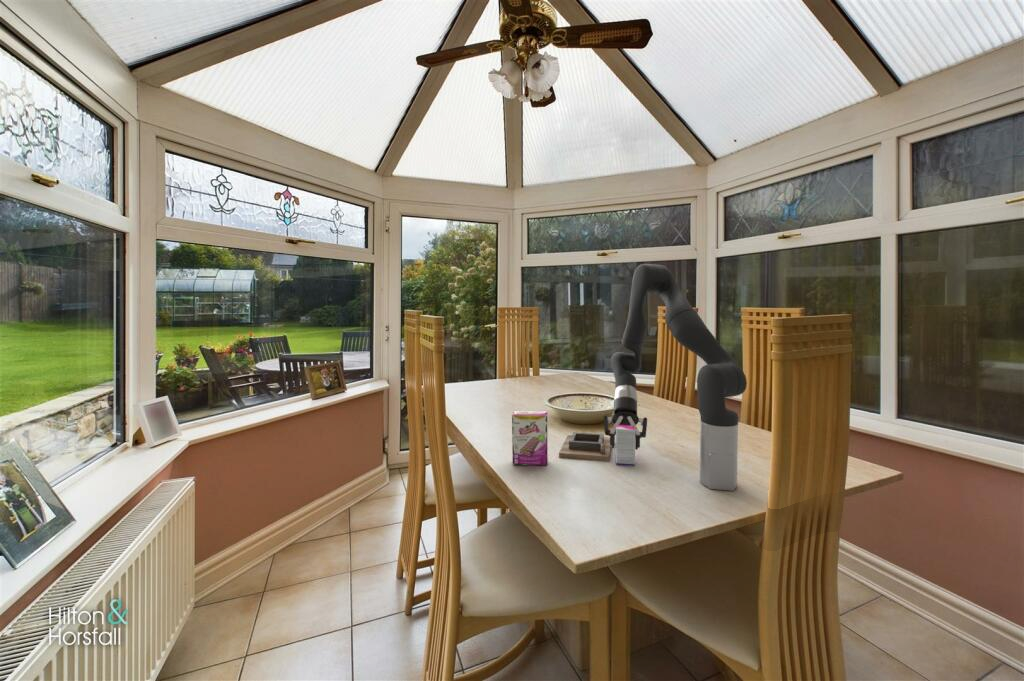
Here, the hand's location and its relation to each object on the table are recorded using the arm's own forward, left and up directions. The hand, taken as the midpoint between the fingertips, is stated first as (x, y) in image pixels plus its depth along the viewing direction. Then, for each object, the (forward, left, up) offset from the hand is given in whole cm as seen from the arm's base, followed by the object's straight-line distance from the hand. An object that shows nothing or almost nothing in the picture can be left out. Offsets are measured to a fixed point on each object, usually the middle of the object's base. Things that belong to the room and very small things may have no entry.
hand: (624, 447), depth 133 cm
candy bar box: (-5, +29, -6) cm, 30 cm away
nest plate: (+12, +13, -5) cm, 18 cm away
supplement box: (+2, 0, -6) cm, 6 cm away
